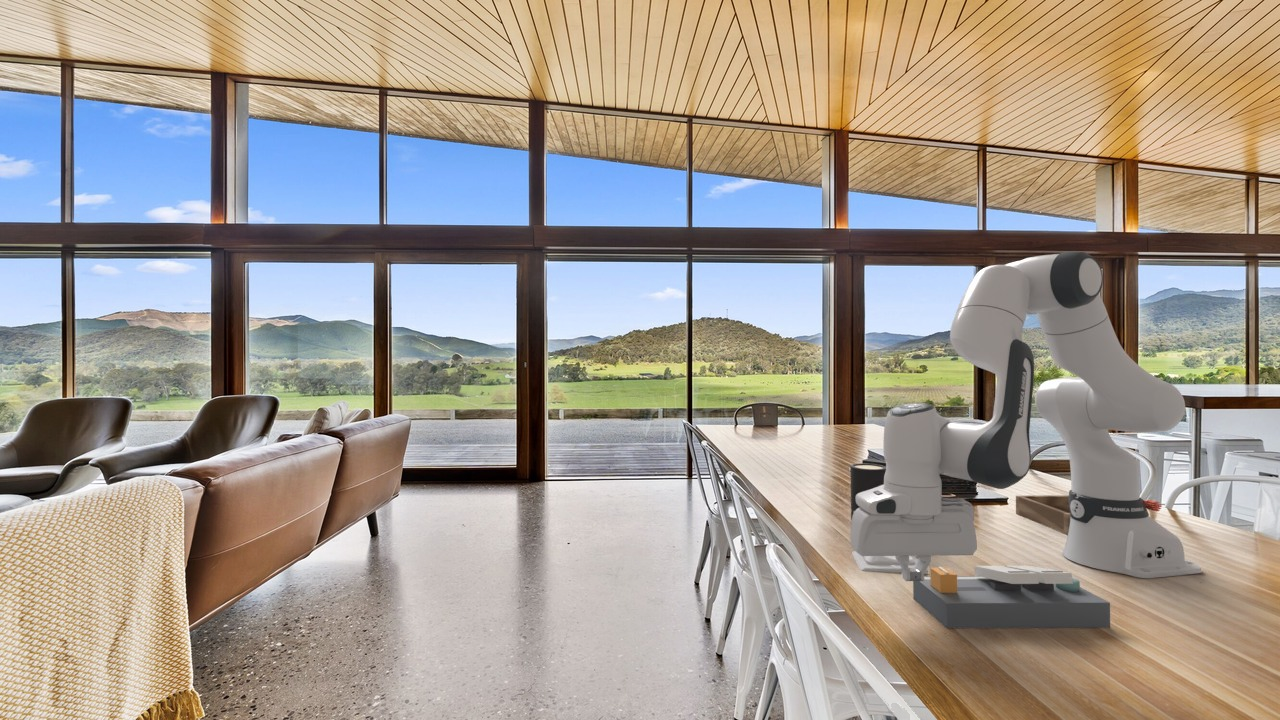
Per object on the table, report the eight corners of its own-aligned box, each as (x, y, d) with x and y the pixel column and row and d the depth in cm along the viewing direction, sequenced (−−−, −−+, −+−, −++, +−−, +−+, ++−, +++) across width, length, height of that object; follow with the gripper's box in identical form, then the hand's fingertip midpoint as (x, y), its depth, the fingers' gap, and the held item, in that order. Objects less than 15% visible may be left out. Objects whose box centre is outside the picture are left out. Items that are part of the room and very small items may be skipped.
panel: (1058, 597, 99) (1058, 570, 99) (1110, 627, 88) (1109, 596, 88) (913, 598, 99) (913, 570, 99) (947, 628, 88) (946, 597, 88)
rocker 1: (1000, 575, 98) (998, 564, 98) (1038, 583, 88) (1036, 572, 89) (975, 575, 98) (973, 564, 98) (1011, 583, 88) (1009, 572, 89)
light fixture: (841, 540, 131) (841, 465, 131) (866, 527, 141) (866, 458, 141) (883, 550, 124) (882, 471, 124) (906, 536, 133) (905, 463, 134)
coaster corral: (1083, 513, 152) (1083, 495, 152) (1144, 534, 133) (1144, 513, 133) (1015, 513, 152) (1015, 495, 152) (1067, 534, 134) (1067, 514, 134)
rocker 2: (1031, 575, 98) (1029, 564, 98) (1073, 583, 88) (1071, 572, 89) (1006, 575, 98) (1004, 564, 98) (1045, 583, 88) (1043, 572, 89)
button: (1069, 584, 95) (1069, 576, 95) (1084, 592, 91) (1084, 583, 91) (1051, 584, 95) (1051, 576, 95) (1065, 592, 92) (1065, 583, 92)
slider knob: (946, 584, 95) (946, 566, 95) (957, 592, 92) (957, 573, 92) (930, 584, 95) (930, 566, 95) (940, 592, 92) (940, 573, 92)
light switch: (849, 539, 123) (911, 539, 120) (851, 558, 123) (912, 558, 120) (859, 557, 112) (927, 556, 110) (861, 577, 112) (928, 577, 110)
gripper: (962, 493, 96) (963, 572, 96) (846, 495, 97) (847, 573, 97) (985, 503, 90) (986, 587, 90) (860, 504, 90) (861, 588, 90)
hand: (913, 580), depth 93 cm, fingers closed
